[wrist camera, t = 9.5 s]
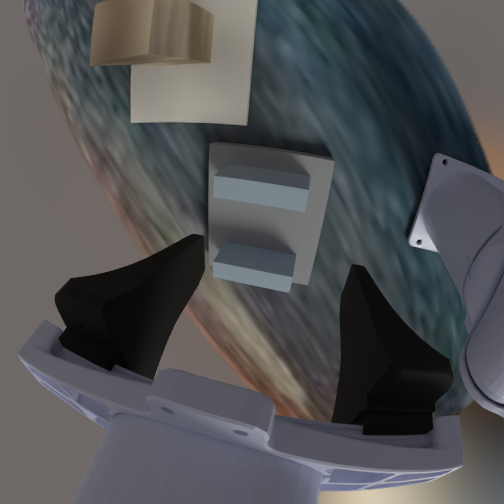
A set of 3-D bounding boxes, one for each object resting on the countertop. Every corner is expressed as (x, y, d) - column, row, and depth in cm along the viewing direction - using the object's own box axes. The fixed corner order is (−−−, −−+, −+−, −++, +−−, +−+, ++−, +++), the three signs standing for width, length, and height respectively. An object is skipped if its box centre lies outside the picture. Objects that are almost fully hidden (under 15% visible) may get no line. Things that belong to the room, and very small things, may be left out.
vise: (334, 157, 18) (337, 173, 15) (308, 278, 25) (305, 309, 21) (214, 141, 20) (192, 153, 17) (212, 259, 26) (196, 286, 23)
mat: (261, -39, 11) (260, -41, 10) (247, 125, 19) (246, 125, 18) (143, -21, 12) (140, -22, 12) (133, 122, 20) (130, 122, 20)
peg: (214, 15, 14) (156, -16, 7) (210, 63, 16) (148, 53, 10) (165, 21, 14) (95, 4, 8) (162, 66, 17) (89, 66, 10)
